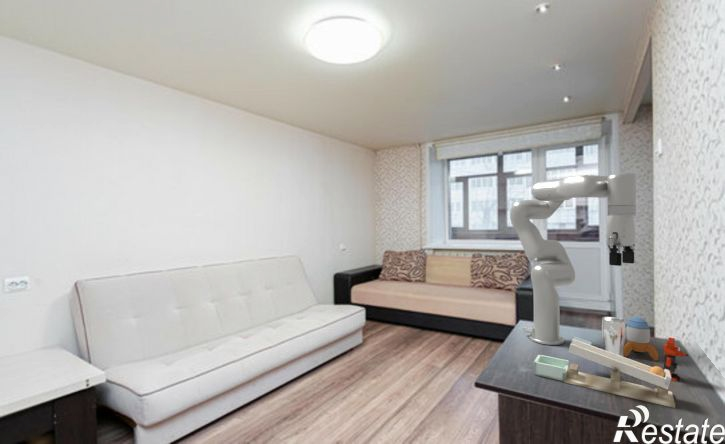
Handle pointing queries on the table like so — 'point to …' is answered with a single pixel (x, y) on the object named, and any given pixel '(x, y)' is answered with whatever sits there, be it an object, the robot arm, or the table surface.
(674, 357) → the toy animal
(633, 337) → the toy rocket
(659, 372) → the ball
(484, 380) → the table surface
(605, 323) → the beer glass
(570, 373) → the stand
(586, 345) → the lever
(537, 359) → the tray
